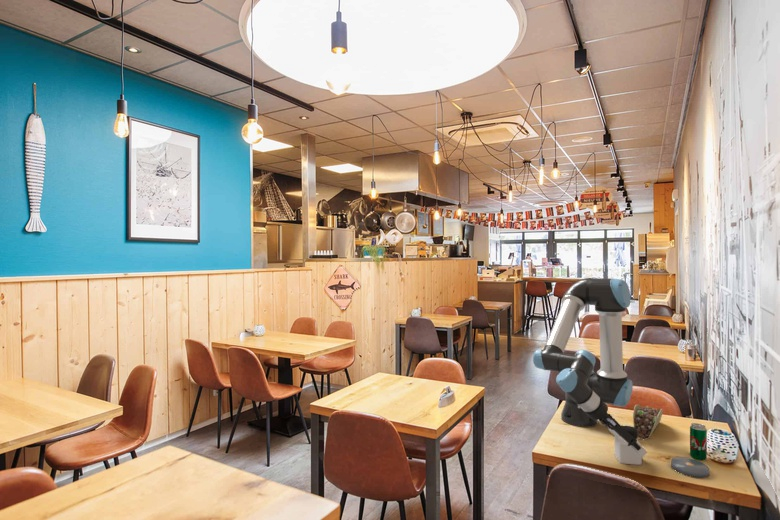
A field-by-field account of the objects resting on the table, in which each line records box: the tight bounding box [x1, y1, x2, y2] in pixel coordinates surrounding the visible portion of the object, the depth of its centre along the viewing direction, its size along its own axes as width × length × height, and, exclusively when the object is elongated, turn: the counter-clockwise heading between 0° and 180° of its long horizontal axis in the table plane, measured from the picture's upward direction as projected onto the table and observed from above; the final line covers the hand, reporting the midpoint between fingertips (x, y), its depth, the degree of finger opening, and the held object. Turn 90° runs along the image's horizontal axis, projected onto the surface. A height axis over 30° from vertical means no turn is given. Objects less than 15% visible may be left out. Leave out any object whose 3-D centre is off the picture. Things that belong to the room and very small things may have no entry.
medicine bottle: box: [613, 424, 643, 466], centre depth 158 cm, size 7×7×12 cm
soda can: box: [689, 422, 708, 461], centre depth 160 cm, size 5×5×12 cm
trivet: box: [670, 456, 711, 479], centre depth 150 cm, size 11×11×2 cm
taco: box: [632, 403, 664, 441], centre depth 187 cm, size 10×27×10 cm, turn 140°
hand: (633, 446), depth 159 cm, fingers open, 13 cm apart
